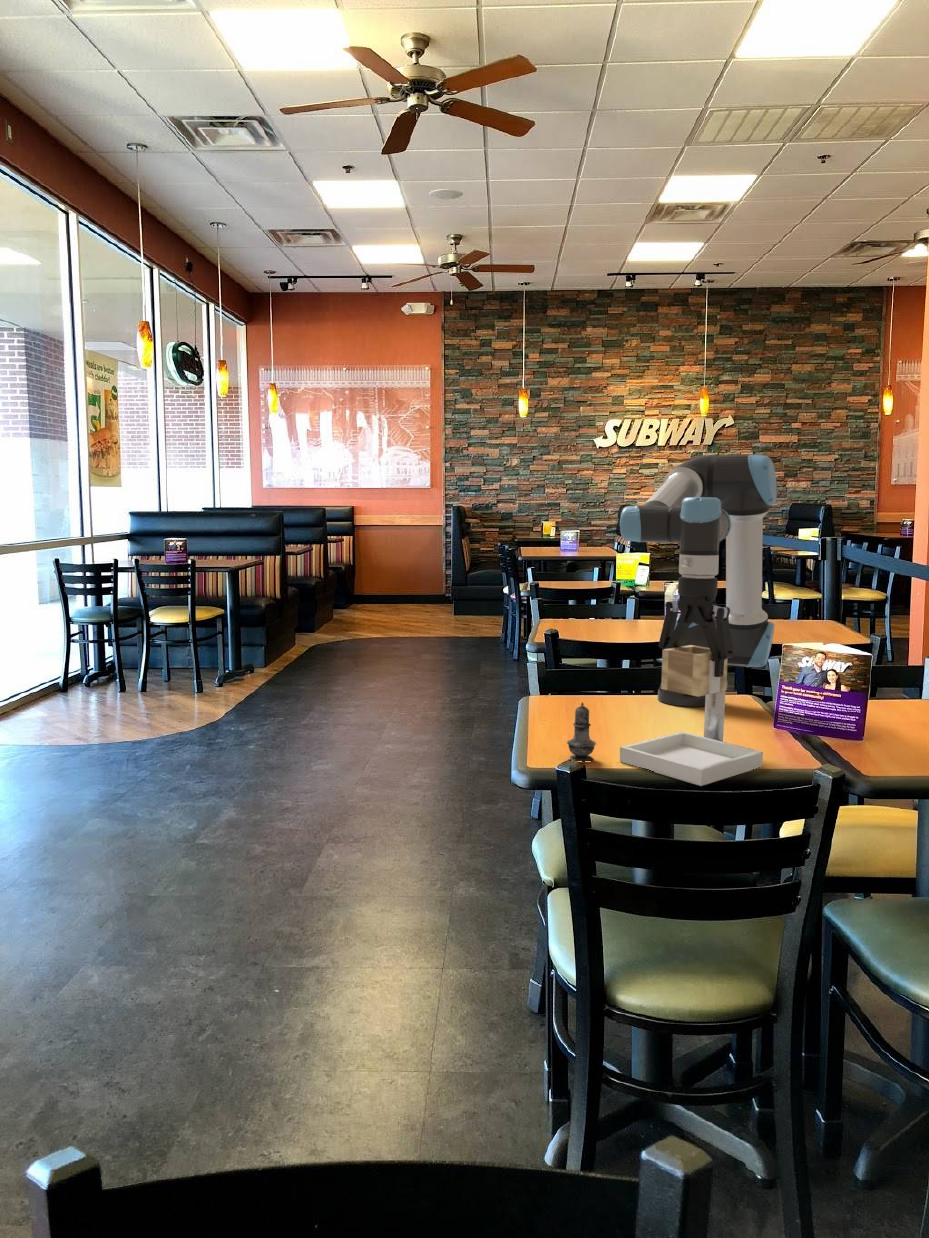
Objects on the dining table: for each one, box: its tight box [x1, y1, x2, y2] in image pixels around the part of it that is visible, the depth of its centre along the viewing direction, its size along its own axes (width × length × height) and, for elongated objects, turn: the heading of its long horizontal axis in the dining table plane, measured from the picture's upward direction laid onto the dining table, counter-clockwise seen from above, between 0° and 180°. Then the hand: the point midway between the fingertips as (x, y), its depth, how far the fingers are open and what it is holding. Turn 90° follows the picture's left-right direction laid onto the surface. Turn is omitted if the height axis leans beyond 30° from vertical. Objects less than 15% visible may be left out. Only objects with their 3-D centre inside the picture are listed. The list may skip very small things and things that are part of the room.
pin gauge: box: [703, 680, 728, 742], centre depth 198 cm, size 5×5×15 cm
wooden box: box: [660, 645, 728, 697], centre depth 185 cm, size 9×9×8 cm
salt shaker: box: [566, 702, 597, 762], centre depth 190 cm, size 6×6×12 cm
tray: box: [619, 731, 764, 787], centre depth 188 cm, size 20×20×3 cm
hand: (693, 688), depth 186 cm, fingers closed on wooden box, 9 cm apart
